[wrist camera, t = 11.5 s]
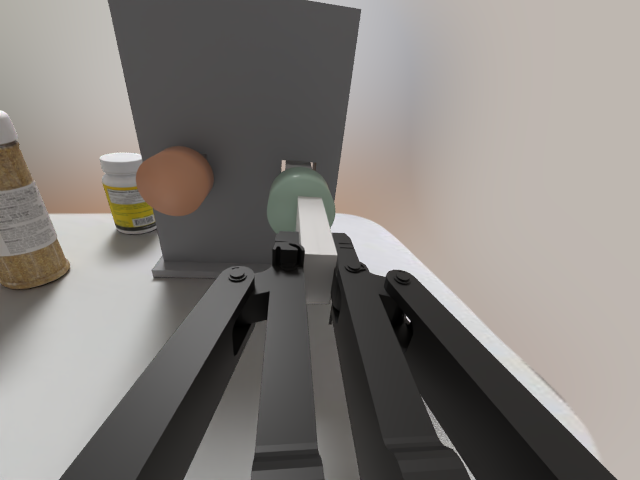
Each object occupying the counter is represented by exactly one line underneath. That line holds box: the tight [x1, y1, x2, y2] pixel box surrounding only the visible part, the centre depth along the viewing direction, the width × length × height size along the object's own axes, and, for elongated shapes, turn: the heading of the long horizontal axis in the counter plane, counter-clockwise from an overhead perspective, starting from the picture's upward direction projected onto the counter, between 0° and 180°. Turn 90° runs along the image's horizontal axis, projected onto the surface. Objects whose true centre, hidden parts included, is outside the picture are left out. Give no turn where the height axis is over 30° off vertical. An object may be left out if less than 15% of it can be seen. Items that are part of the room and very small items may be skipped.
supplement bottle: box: [100, 153, 157, 234], centre depth 31 cm, size 5×5×8 cm
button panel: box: [108, 0, 361, 278], centre depth 24 cm, size 17×7×22 cm, turn 96°
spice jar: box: [0, 111, 70, 289], centre depth 21 cm, size 5×5×14 cm
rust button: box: [136, 146, 214, 216], centre depth 24 cm, size 4×12×4 cm, turn 6°
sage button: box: [267, 160, 335, 234], centre depth 23 cm, size 4×12×4 cm, turn 6°
